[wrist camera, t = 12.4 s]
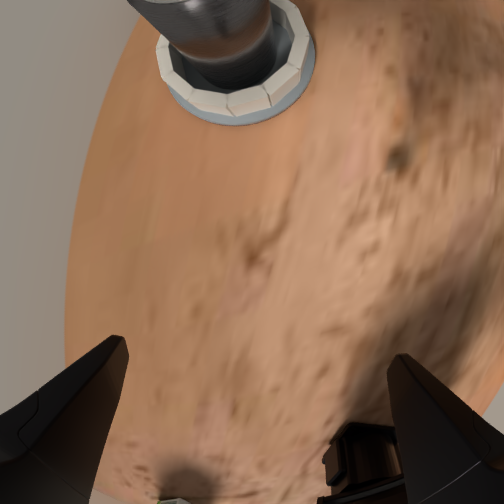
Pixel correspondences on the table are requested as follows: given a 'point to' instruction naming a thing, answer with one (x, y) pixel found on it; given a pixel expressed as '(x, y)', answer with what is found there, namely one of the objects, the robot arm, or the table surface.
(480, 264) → the table surface
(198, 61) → the lens
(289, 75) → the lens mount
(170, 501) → the syrup box
